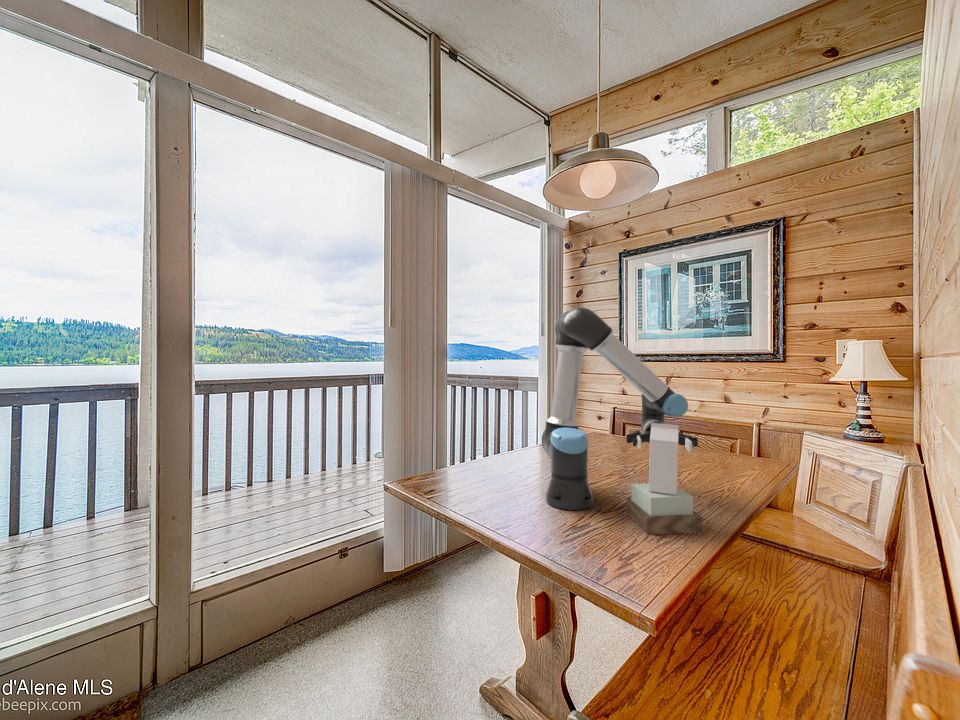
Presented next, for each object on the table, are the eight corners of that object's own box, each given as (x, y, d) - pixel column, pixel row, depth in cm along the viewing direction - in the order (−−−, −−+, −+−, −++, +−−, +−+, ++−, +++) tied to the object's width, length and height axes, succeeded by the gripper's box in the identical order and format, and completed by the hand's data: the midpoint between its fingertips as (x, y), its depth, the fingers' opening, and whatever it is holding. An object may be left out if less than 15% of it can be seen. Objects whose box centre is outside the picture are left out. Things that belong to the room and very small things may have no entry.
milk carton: (676, 496, 113) (678, 427, 113) (648, 491, 117) (650, 424, 116) (677, 488, 120) (678, 423, 119) (650, 484, 123) (652, 421, 122)
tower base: (647, 536, 111) (647, 517, 111) (626, 514, 126) (626, 498, 126) (702, 535, 111) (702, 517, 111) (675, 514, 126) (675, 497, 126)
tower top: (650, 516, 112) (650, 497, 112) (631, 500, 124) (631, 483, 124) (692, 514, 113) (692, 496, 113) (669, 499, 125) (669, 482, 125)
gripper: (696, 445, 136) (712, 461, 116) (617, 441, 144) (619, 456, 123) (696, 422, 136) (712, 435, 116) (617, 420, 144) (619, 431, 123)
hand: (664, 445), depth 120 cm, fingers open, 13 cm apart
